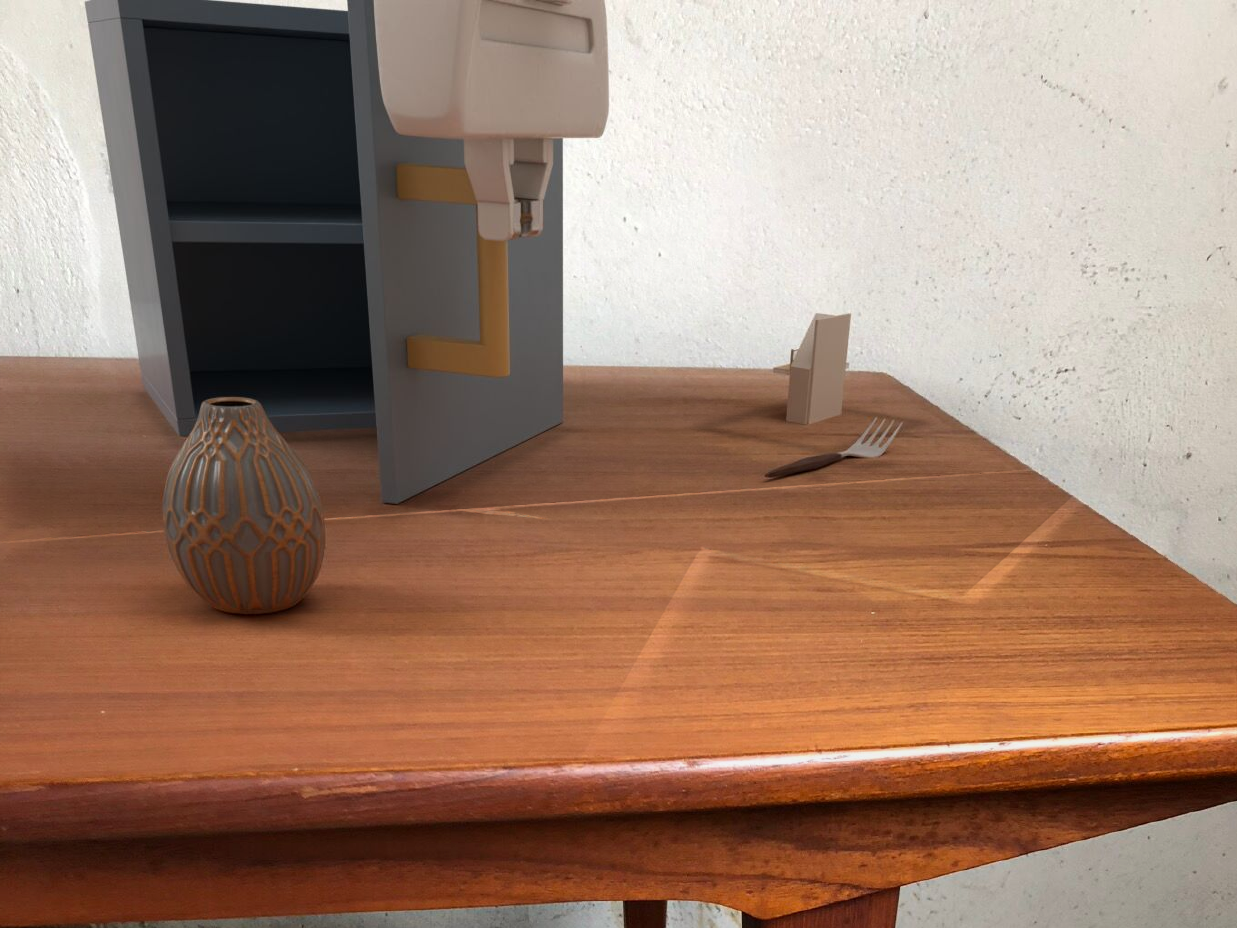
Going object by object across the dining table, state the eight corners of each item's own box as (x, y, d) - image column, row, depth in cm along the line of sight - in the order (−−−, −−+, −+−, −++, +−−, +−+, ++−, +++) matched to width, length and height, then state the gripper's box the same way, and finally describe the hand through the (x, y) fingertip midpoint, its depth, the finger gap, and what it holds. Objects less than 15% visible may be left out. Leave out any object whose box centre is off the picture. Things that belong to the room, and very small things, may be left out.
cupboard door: (638, 430, 99) (649, 33, 86) (490, 517, 77) (475, 2, 65) (550, 420, 100) (548, 29, 88) (381, 502, 79) (346, -3, 66)
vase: (295, 632, 60) (273, 423, 55) (147, 617, 61) (113, 409, 56) (353, 586, 66) (338, 394, 61) (218, 572, 67) (192, 382, 62)
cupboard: (553, 421, 101) (551, 26, 88) (179, 438, 90) (116, -8, 78) (476, 377, 115) (464, 30, 102) (143, 387, 104) (84, 1, 91)
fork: (747, 480, 88) (750, 448, 87) (870, 445, 99) (874, 416, 98) (781, 487, 87) (784, 455, 86) (902, 451, 98) (905, 422, 97)
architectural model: (768, 419, 106) (776, 314, 102) (810, 407, 111) (818, 307, 107) (807, 425, 104) (816, 320, 100) (847, 413, 109) (858, 312, 105)
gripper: (531, -62, 74) (533, 222, 82) (339, -120, 57) (363, 245, 65) (641, -58, 73) (633, 231, 80) (477, -116, 56) (485, 257, 63)
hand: (511, 238), depth 72 cm, fingers closed on cupboard door, 2 cm apart
